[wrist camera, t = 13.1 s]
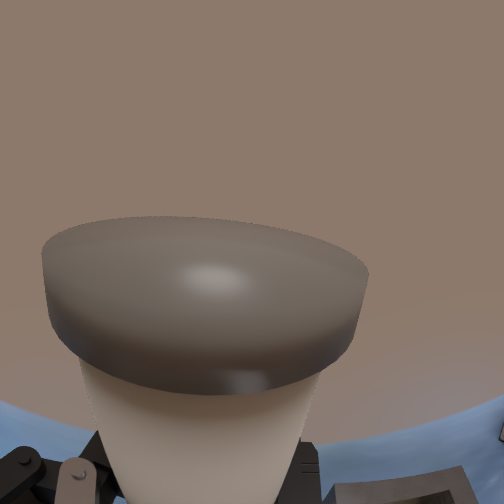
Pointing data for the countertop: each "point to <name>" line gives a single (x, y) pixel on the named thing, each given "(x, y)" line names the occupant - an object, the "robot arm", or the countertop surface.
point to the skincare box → (502, 434)
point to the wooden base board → (407, 490)
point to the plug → (200, 346)
